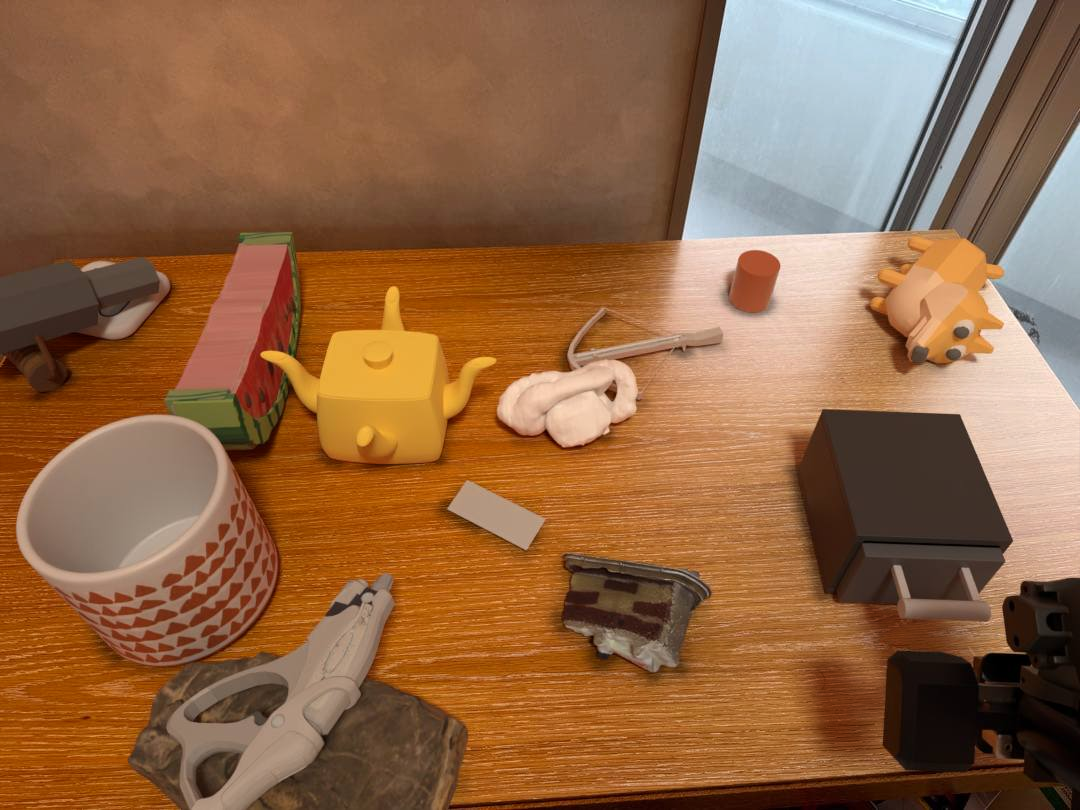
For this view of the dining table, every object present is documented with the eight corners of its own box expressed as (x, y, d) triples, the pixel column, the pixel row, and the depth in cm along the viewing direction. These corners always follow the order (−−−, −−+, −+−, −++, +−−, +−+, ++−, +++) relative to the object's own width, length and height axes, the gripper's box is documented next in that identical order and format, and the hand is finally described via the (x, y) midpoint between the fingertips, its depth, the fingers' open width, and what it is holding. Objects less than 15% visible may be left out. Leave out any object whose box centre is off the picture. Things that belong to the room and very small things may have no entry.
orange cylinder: (777, 300, 91) (789, 264, 87) (752, 318, 89) (763, 281, 85) (745, 281, 93) (755, 244, 89) (720, 297, 91) (729, 261, 87)
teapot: (499, 427, 77) (498, 352, 70) (377, 515, 70) (362, 441, 63) (399, 348, 84) (389, 272, 77) (279, 421, 77) (255, 345, 70)
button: (174, 272, 89) (120, 333, 82) (179, 284, 90) (126, 345, 83) (90, 255, 90) (30, 314, 83) (95, 267, 91) (37, 327, 85)
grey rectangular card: (447, 509, 71) (448, 512, 71) (526, 550, 68) (527, 553, 69) (467, 479, 72) (468, 483, 73) (545, 519, 69) (546, 522, 70)
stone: (251, 612, 64) (235, 579, 60) (491, 751, 57) (489, 723, 54) (117, 768, 56) (89, 741, 52) (377, 949, 50) (366, 933, 46)
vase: (193, 489, 71) (130, 388, 62) (315, 554, 66) (268, 455, 57) (62, 618, 64) (-32, 525, 54) (190, 703, 59) (111, 616, 49)
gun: (322, 562, 63) (432, 604, 59) (131, 791, 51) (252, 865, 47) (311, 536, 61) (423, 578, 57) (109, 768, 49) (233, 843, 45)
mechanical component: (119, 227, 85) (127, 309, 91) (-75, 270, 73) (-52, 361, 79) (176, 273, 81) (180, 355, 87) (-19, 327, 69) (1, 418, 75)
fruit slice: (265, 492, 69) (238, 400, 63) (188, 494, 69) (153, 402, 62) (313, 314, 89) (296, 230, 83) (254, 315, 89) (233, 231, 82)
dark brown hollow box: (966, 599, 67) (1014, 541, 60) (824, 594, 67) (857, 535, 60) (922, 475, 75) (960, 413, 69) (796, 471, 75) (822, 408, 69)
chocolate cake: (525, 636, 64) (635, 649, 54) (553, 550, 67) (662, 548, 57) (611, 677, 68) (726, 696, 59) (634, 595, 71) (747, 600, 62)
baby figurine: (479, 384, 75) (513, 468, 73) (593, 319, 72) (632, 405, 69) (520, 399, 83) (552, 476, 80) (625, 341, 79) (661, 419, 77)
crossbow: (585, 415, 79) (585, 401, 78) (553, 328, 88) (553, 313, 86) (743, 383, 81) (746, 368, 80) (697, 300, 90) (699, 285, 88)
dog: (846, 294, 81) (983, 344, 74) (929, 207, 91) (1055, 244, 85) (831, 356, 86) (957, 408, 80) (911, 267, 97) (1028, 306, 90)
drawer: (986, 656, 62) (1027, 613, 57) (850, 651, 62) (879, 607, 57) (926, 489, 73) (957, 440, 68) (810, 485, 73) (832, 435, 68)
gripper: (1357, 618, 40) (1125, 548, 55) (966, 604, 39) (844, 538, 55) (1340, 847, 40) (1115, 714, 56) (952, 834, 40) (836, 704, 56)
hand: (978, 663), depth 55 cm, fingers closed
